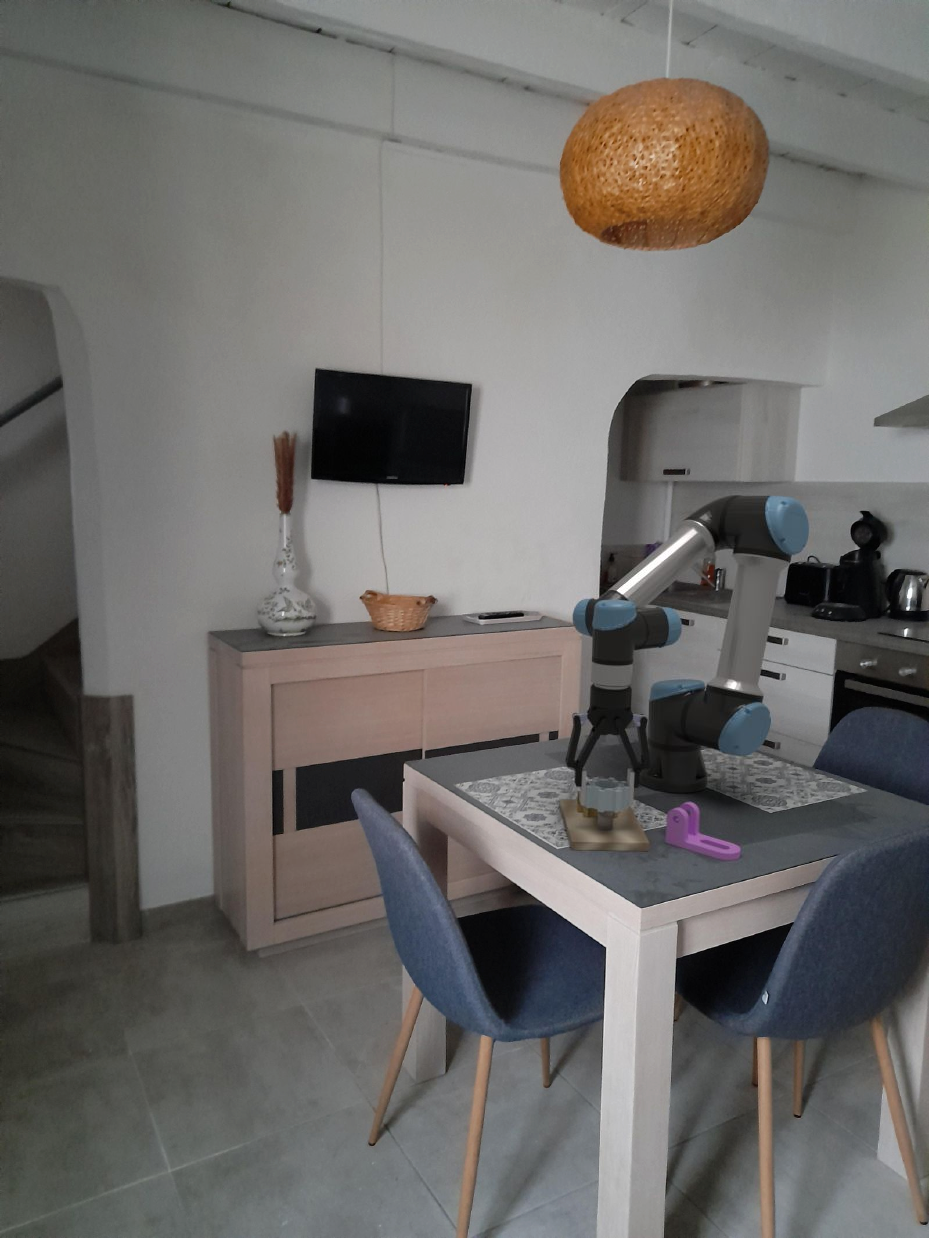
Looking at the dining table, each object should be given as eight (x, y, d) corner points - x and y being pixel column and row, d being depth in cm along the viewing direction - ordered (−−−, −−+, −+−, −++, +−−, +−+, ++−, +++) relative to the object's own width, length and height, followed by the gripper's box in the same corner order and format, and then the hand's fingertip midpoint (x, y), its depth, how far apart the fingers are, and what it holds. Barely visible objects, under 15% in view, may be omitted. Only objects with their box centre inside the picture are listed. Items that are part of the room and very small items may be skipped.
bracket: (665, 843, 164) (667, 807, 163) (680, 834, 168) (682, 799, 167) (731, 863, 155) (734, 826, 154) (745, 854, 159) (747, 817, 158)
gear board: (627, 807, 181) (629, 766, 180) (649, 850, 160) (651, 804, 158) (559, 806, 181) (560, 764, 180) (571, 849, 160) (573, 802, 158)
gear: (623, 797, 169) (624, 777, 169) (631, 813, 161) (632, 792, 161) (581, 796, 169) (582, 776, 169) (586, 812, 161) (587, 791, 161)
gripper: (663, 681, 166) (657, 797, 169) (552, 679, 166) (548, 795, 169) (673, 690, 158) (666, 811, 162) (556, 688, 158) (551, 809, 162)
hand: (605, 803), depth 165 cm, fingers closed on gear, 8 cm apart
